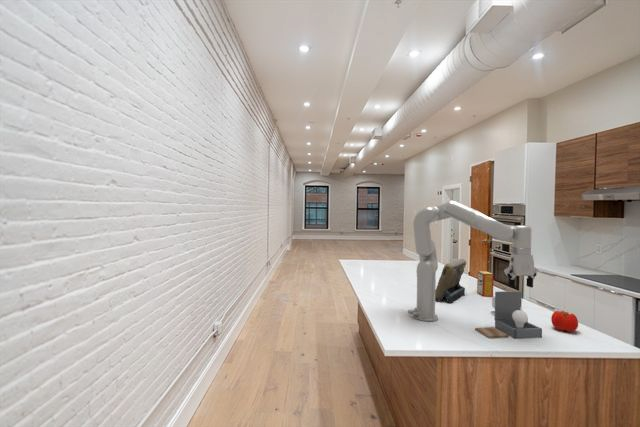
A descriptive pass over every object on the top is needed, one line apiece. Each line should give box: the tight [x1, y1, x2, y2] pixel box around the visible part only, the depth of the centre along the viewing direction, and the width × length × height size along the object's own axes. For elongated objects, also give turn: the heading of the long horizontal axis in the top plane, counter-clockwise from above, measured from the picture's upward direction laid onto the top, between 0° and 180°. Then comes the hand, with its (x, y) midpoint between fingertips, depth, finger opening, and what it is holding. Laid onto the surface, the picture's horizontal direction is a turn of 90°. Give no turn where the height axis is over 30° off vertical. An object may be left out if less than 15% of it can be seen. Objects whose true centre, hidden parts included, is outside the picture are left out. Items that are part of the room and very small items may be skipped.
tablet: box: [435, 258, 467, 304], centre depth 210 cm, size 33×14×25 cm, turn 144°
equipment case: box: [494, 290, 543, 339], centre depth 151 cm, size 14×14×18 cm
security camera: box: [490, 295, 495, 317], centre depth 176 cm, size 6×7×10 cm
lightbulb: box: [512, 310, 529, 329], centre depth 150 cm, size 6×6×11 cm
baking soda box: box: [476, 270, 495, 298], centre depth 217 cm, size 10×6×16 cm
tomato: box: [550, 310, 579, 333], centre depth 155 cm, size 11×11×9 cm
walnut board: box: [474, 326, 509, 339], centre depth 149 cm, size 10×10×1 cm
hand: (520, 287), depth 150 cm, fingers open, 9 cm apart
